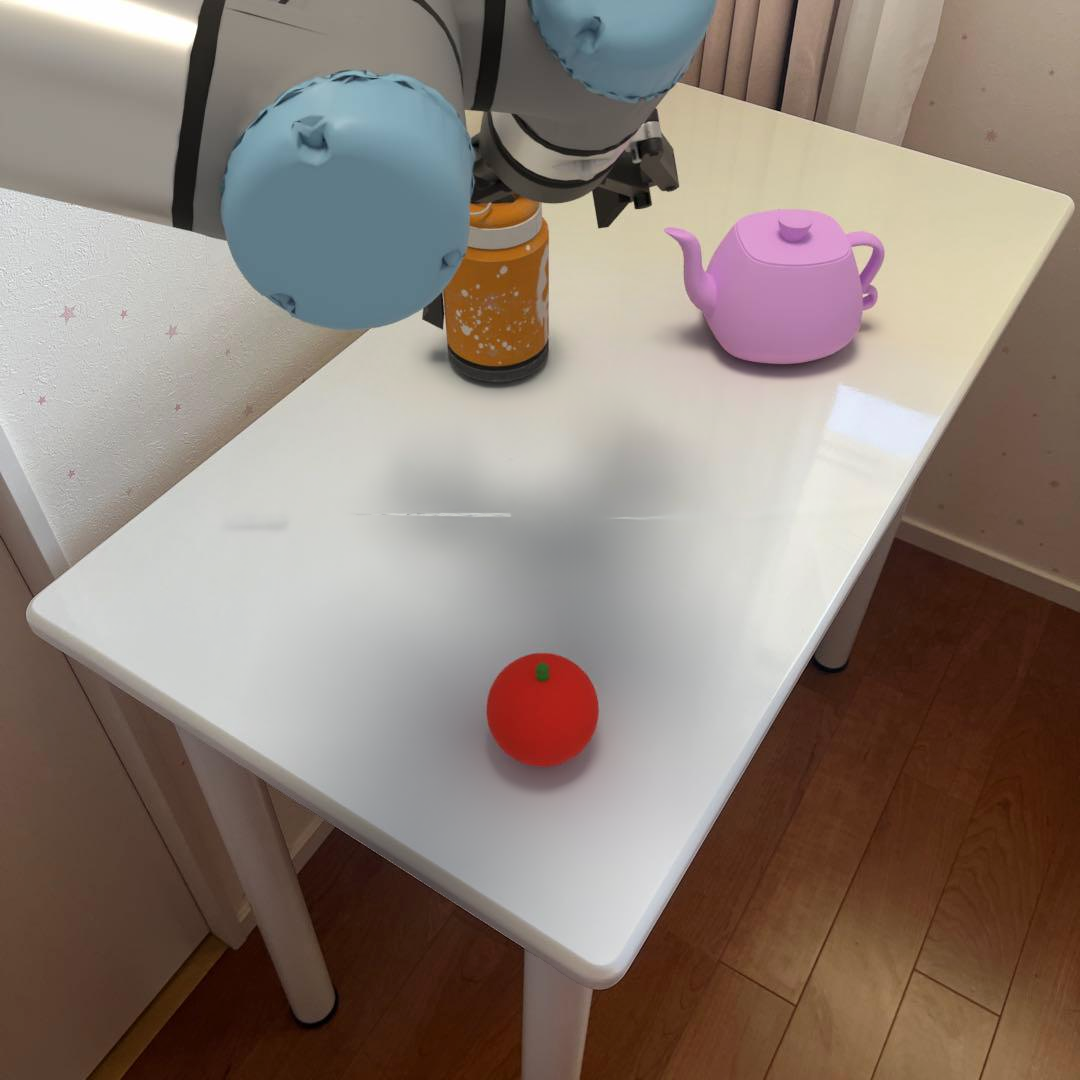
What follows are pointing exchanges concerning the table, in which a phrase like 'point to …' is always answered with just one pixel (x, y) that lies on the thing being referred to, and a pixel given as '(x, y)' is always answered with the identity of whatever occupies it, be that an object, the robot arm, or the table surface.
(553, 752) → the tomato
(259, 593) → the table surface
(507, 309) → the canister
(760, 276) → the teapot
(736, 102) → the table surface
